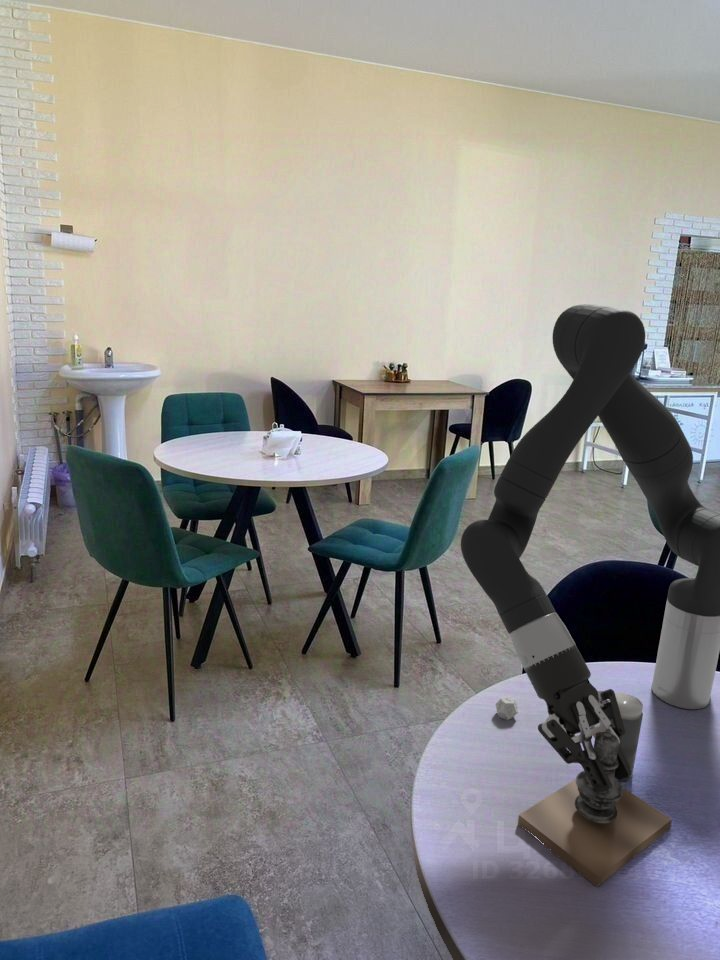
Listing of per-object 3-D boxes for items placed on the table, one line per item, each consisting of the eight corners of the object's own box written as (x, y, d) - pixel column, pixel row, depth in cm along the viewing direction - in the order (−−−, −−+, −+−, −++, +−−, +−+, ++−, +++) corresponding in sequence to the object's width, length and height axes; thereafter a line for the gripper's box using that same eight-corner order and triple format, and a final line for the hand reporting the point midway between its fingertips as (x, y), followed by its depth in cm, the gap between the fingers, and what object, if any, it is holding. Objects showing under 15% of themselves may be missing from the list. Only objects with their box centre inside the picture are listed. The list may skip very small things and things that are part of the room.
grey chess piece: (622, 828, 89) (637, 747, 85) (574, 820, 90) (586, 739, 86) (616, 796, 94) (630, 718, 91) (570, 788, 95) (582, 711, 92)
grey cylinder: (609, 754, 107) (620, 688, 104) (639, 773, 103) (651, 704, 100) (589, 767, 104) (599, 699, 101) (619, 786, 100) (631, 716, 97)
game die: (507, 725, 113) (509, 709, 112) (490, 714, 116) (491, 698, 115) (522, 717, 115) (524, 701, 114) (504, 706, 118) (506, 691, 117)
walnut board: (591, 776, 102) (593, 767, 101) (670, 828, 93) (672, 819, 92) (517, 824, 92) (518, 814, 92) (596, 887, 83) (598, 876, 83)
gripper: (531, 661, 88) (603, 801, 82) (600, 631, 96) (669, 756, 90) (495, 679, 93) (560, 811, 87) (563, 649, 101) (626, 768, 96)
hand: (615, 782), depth 89 cm, fingers closed on grey chess piece, 3 cm apart
